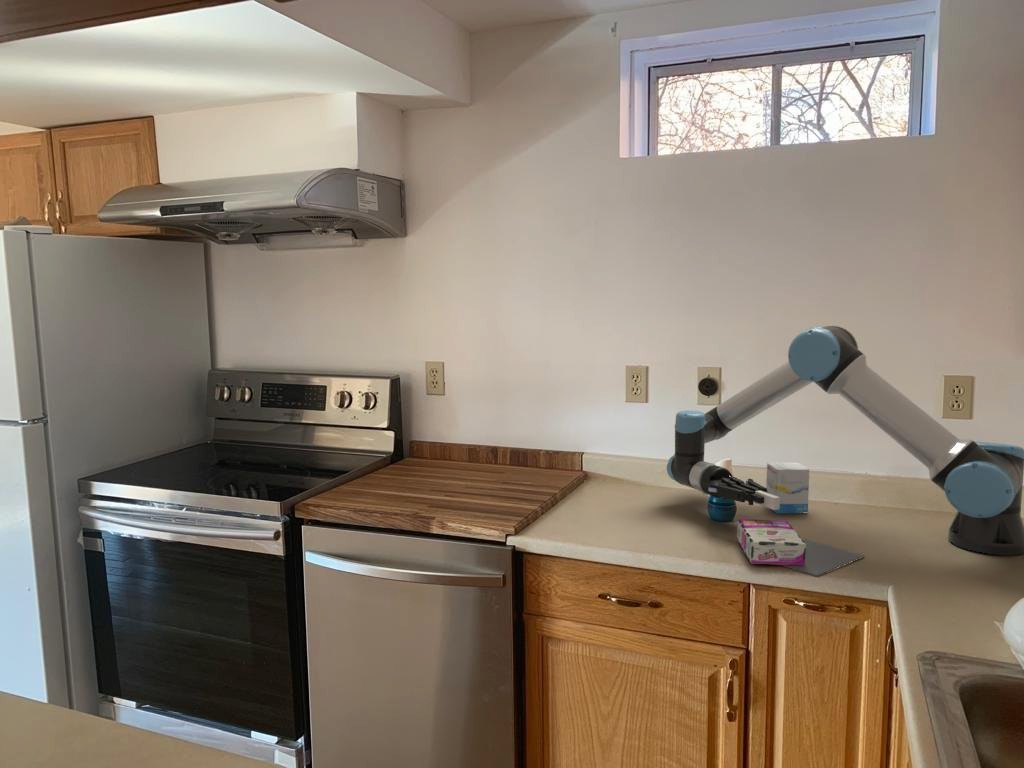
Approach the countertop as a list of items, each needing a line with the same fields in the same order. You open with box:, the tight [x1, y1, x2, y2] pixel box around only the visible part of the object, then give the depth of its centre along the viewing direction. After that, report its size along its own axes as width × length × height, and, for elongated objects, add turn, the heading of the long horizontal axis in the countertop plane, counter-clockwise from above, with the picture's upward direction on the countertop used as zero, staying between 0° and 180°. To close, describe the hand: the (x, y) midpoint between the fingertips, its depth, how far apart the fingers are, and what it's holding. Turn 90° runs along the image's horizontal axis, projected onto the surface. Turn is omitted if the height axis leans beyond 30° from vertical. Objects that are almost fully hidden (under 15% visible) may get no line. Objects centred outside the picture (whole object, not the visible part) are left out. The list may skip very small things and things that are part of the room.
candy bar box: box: [736, 518, 806, 566], centre depth 167 cm, size 11×5×16 cm
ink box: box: [765, 461, 810, 514], centre depth 200 cm, size 8×8×12 cm
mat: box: [741, 537, 865, 578], centre depth 167 cm, size 18×18×1 cm
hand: (776, 503), depth 171 cm, fingers closed
